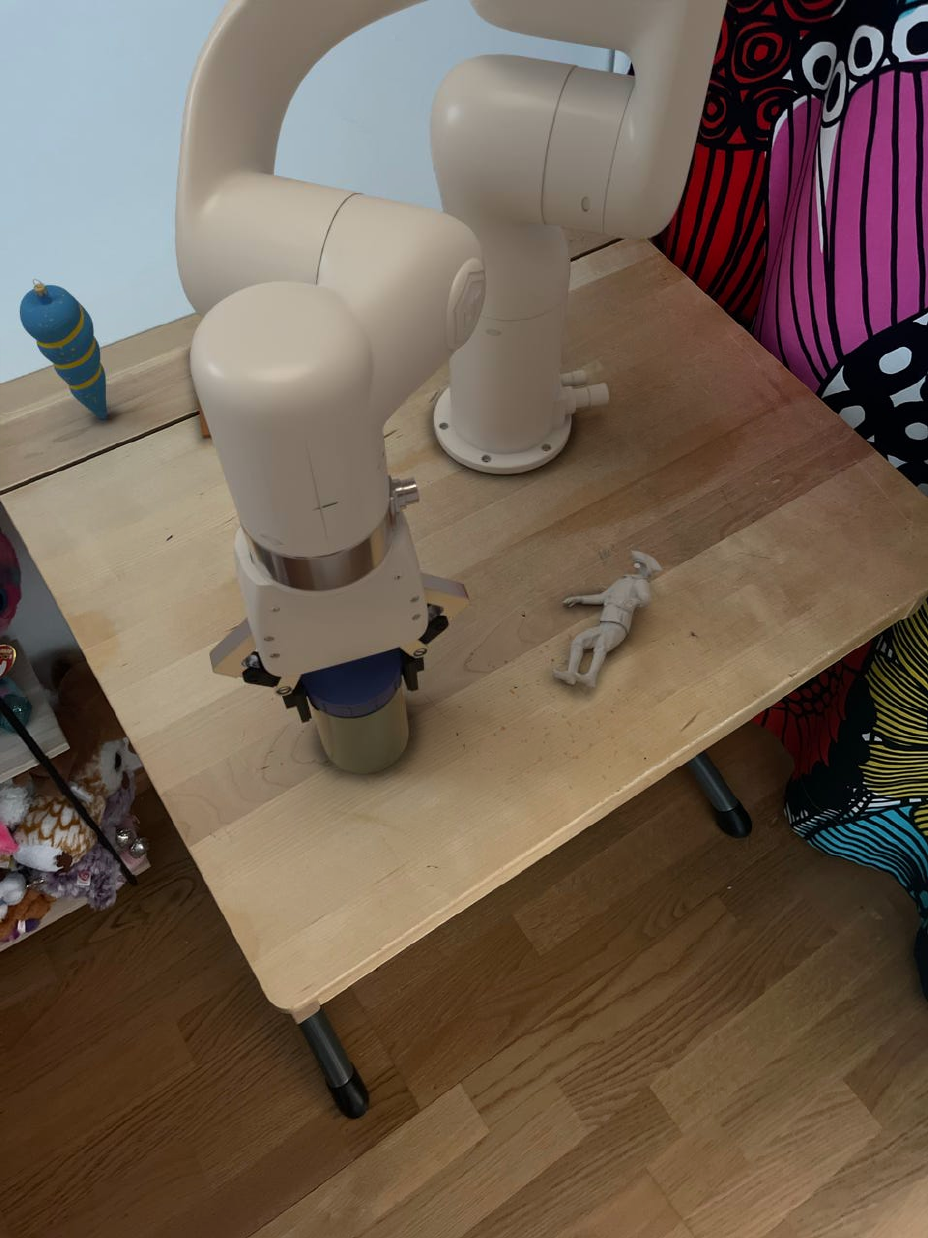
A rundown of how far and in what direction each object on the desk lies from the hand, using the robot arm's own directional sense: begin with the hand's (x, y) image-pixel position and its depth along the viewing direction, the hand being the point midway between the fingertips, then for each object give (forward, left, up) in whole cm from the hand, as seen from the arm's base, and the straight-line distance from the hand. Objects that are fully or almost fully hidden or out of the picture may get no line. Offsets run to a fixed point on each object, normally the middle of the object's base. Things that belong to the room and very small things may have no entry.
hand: (355, 687), depth 61 cm
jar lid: (0, 0, +3) cm, 3 cm away
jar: (0, 0, -7) cm, 7 cm away
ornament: (+18, -38, -8) cm, 43 cm away
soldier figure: (-20, -4, -8) cm, 22 cm away
